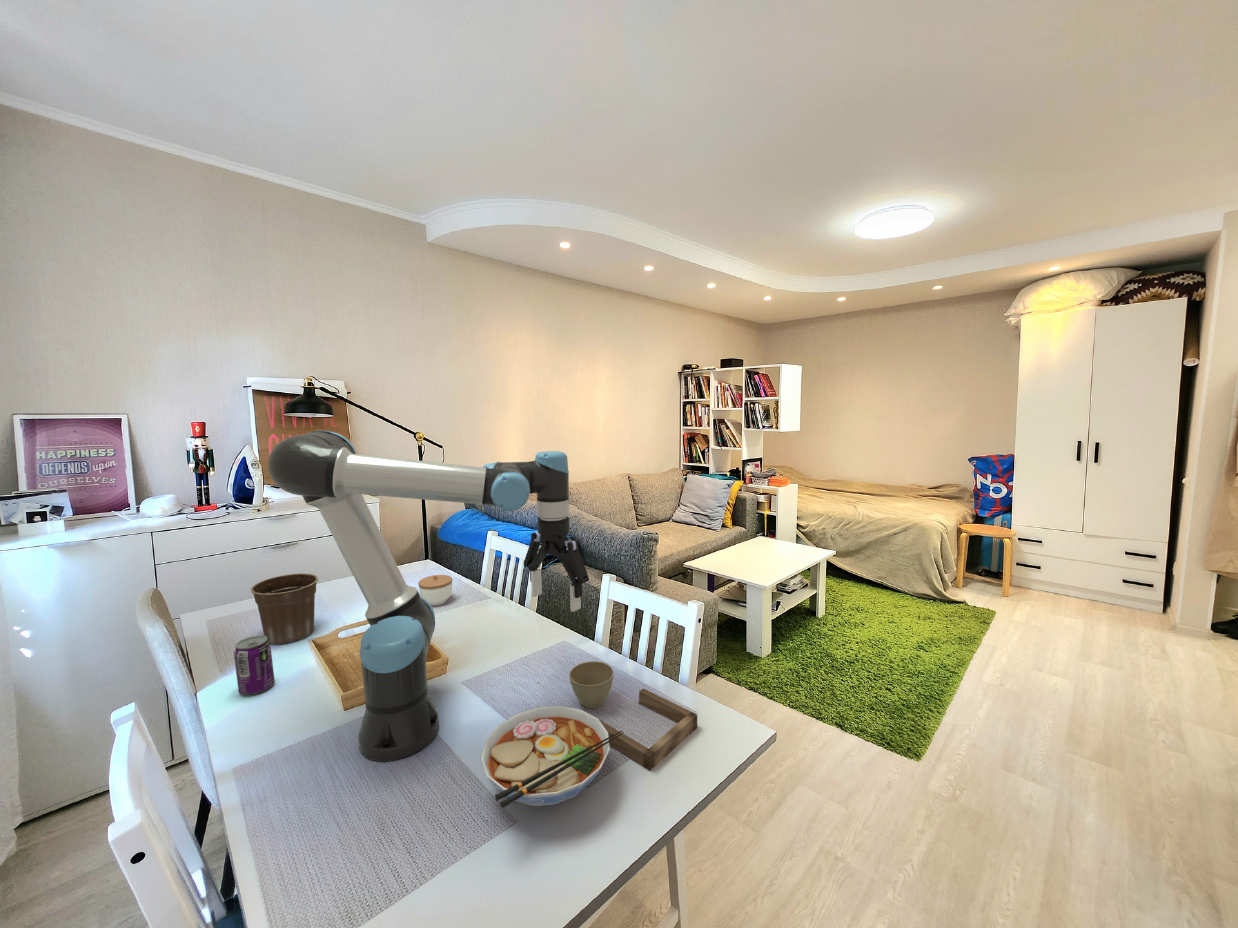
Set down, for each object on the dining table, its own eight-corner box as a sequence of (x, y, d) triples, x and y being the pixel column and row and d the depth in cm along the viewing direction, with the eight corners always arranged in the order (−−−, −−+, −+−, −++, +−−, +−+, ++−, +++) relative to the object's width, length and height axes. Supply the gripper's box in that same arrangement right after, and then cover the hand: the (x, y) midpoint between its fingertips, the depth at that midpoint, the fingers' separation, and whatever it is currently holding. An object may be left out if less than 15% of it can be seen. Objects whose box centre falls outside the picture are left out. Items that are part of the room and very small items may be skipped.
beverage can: (278, 687, 121) (273, 641, 120) (242, 700, 116) (236, 652, 114) (270, 676, 126) (265, 631, 124) (235, 688, 121) (229, 642, 119)
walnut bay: (649, 770, 93) (649, 756, 93) (594, 736, 103) (593, 722, 102) (697, 727, 105) (697, 714, 105) (643, 700, 115) (643, 688, 114)
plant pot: (333, 621, 156) (329, 572, 154) (303, 648, 140) (297, 593, 138) (280, 623, 156) (274, 573, 153) (243, 649, 140) (236, 594, 137)
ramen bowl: (571, 721, 108) (570, 686, 106) (641, 785, 90) (641, 743, 89) (456, 777, 92) (454, 737, 91) (514, 868, 74) (512, 819, 73)
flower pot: (593, 683, 121) (593, 656, 120) (623, 701, 114) (622, 672, 113) (561, 701, 114) (560, 672, 113) (590, 721, 107) (589, 690, 106)
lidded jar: (430, 595, 176) (428, 569, 175) (458, 596, 175) (457, 570, 173) (413, 607, 166) (411, 580, 164) (444, 609, 164) (442, 582, 163)
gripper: (603, 521, 114) (604, 610, 117) (530, 506, 130) (533, 585, 133) (580, 528, 108) (582, 622, 111) (507, 512, 124) (510, 594, 127)
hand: (555, 602), depth 122 cm, fingers open, 13 cm apart
